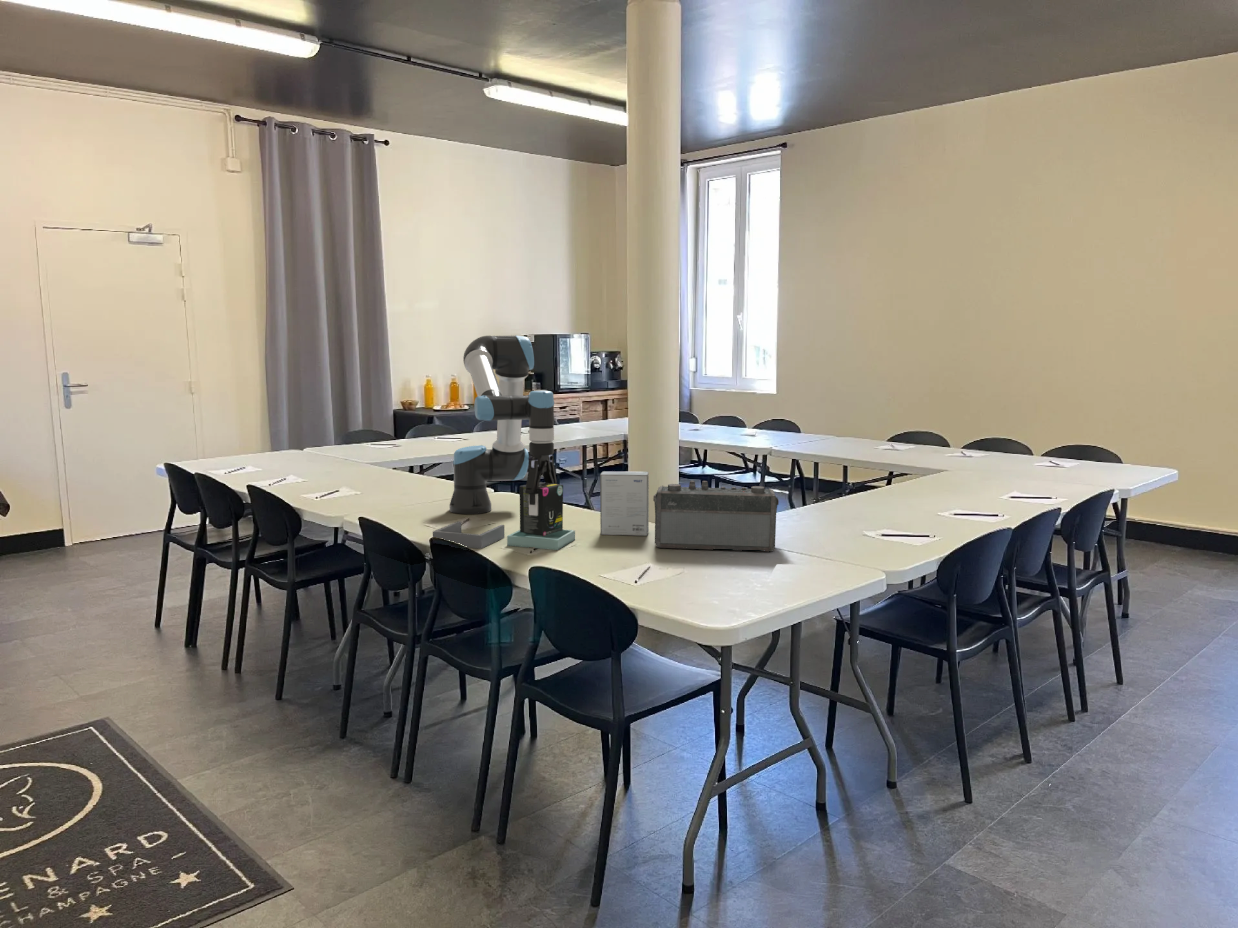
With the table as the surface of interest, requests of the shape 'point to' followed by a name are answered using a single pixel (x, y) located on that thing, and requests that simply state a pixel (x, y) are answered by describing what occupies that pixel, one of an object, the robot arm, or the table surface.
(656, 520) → the radio
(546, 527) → the tampon box
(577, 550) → the table surface
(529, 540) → the tray
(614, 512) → the hard drive box
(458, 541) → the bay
